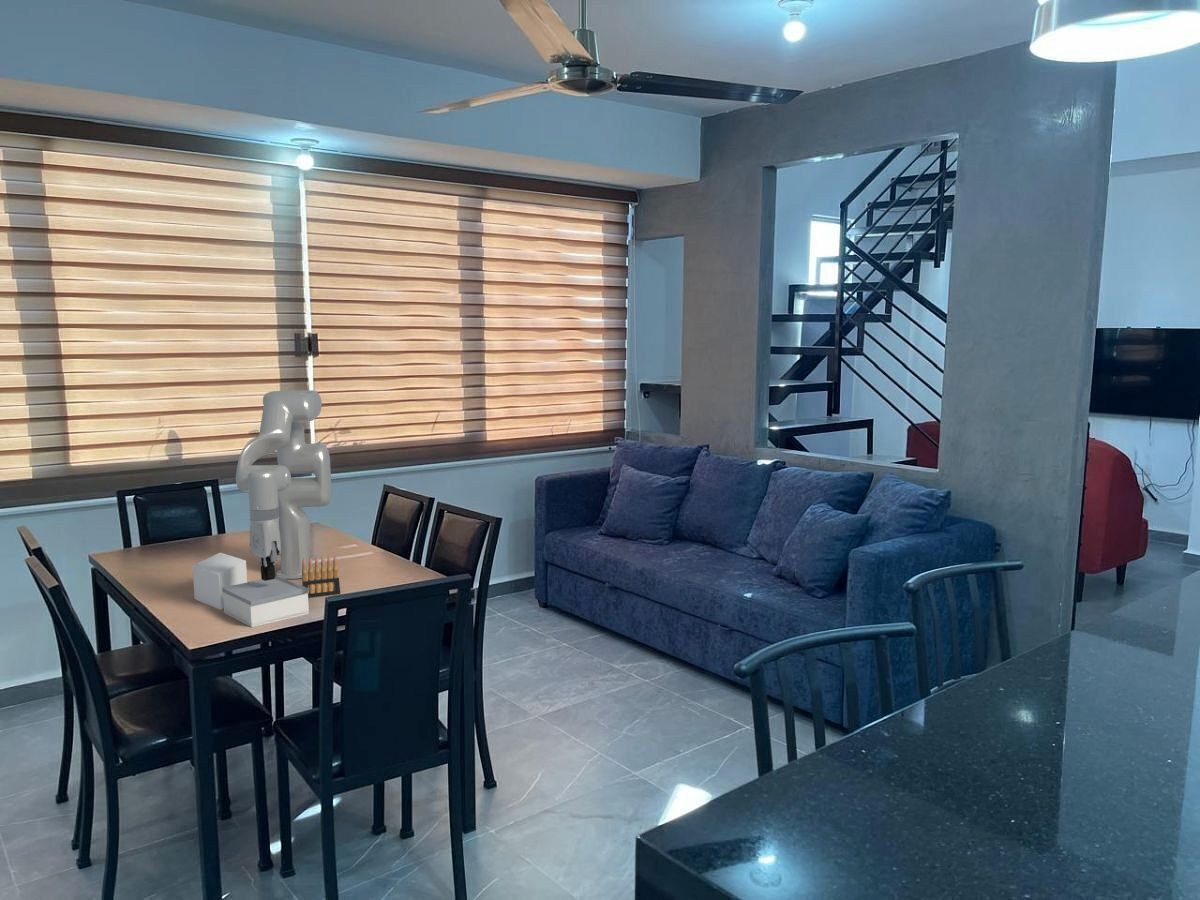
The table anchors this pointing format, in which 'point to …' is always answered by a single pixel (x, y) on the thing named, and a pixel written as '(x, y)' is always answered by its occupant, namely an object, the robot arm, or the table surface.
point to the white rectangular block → (217, 578)
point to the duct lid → (264, 590)
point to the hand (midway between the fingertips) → (268, 579)
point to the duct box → (266, 609)
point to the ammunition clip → (321, 577)
